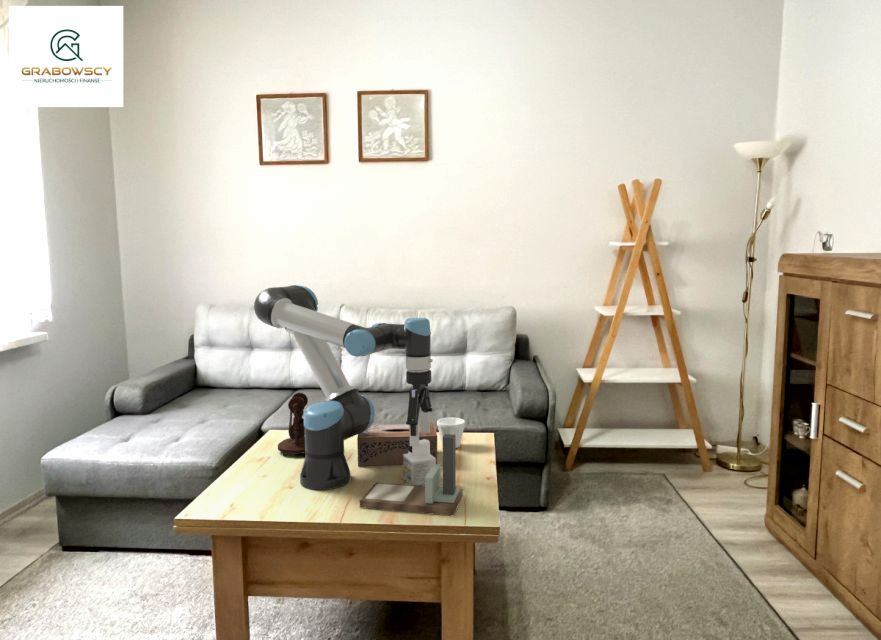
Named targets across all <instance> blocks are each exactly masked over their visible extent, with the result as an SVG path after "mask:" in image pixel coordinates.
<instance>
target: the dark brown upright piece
mask: <svg viewBox="0 0 881 640" xmlns="http://www.w3.org/2000/svg"><path fill="white" fill-rule="evenodd" d="M308 402H309V401H308V396H307V395H306V393H304V392H295V394H293V396H292V397H291V398H290V400H289V401H288V403H287V407H288V410H289V421H288V422H289V423H288V436H289V438H286V439H283V440H282V441H280V442H279V443H277V450H278V451H279V452H280V453H281V455H282V456H283V457H284V456H285V455H286V454H292V455H293V454H295V455H296V454H305V434H304V417H303V416H304V414H305V410H304V409H305V407H306V406H307V405H308Z"/></svg>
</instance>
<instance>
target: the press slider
mask: <svg viewBox="0 0 881 640" xmlns="http://www.w3.org/2000/svg"><path fill="white" fill-rule="evenodd" d="M456 449H457V448H456V435H451V434H445V435H444V436H443V446H442V464H438V463H437V464H434V465H433V467H432V468H431V470H430V471H429V473H428V474H427V476H426V477H425V484H424V486H425V503H431V504H432V503H433V502H434V501H435V502H447V503H454V501H455V499H456V497H457V495H458V493H459V488H460V487H456V485H457V483H456V480H457V478H456V477H457V475H456V463H457V461H456V459H457V458H456Z"/></svg>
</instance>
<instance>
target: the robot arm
mask: <svg viewBox="0 0 881 640" xmlns="http://www.w3.org/2000/svg"><path fill="white" fill-rule="evenodd" d="M318 305H319V301H318V298H317V295H316V294H315V292H314V291H313V290H312V289H310V288H309V287H307V286H304V285H296V284H295V285H293V284H292V285H289V286H287V285H286V286H277V287H268V288H265V289H263V290H262V291H260V293H258V295H256V297H255V299H254V304H253V309H254V313H255V316H256V318H258V319H259V321H260V322H261V323H263V324H266V325H268V326H270V327H273V328H276V329H283V328H284V329H285V332H287V333H289V334H292V335H293V337H294V339H295V341H296V342H297V345H298V346H299V348H300V351H301V353H302V354H303V356H304V359H305V361H307V365H308V366H309V369H310V370H311V372H312V374H313V376H314V378H315V380H316V381H317V383H318V386H319V387H320V389H321V391H322V393H323V395H324V397H325V400H323V401H321V402H320V401H318V402H315V403H313V404H311V405H309V406H308V407H307V408H306V409H305V410H304V414H303V416H304V417H303V419H304V434H305V453H304V455H305V457H304V460H303V464H302V467H301V471H300V475H299V481H300V482H299V483H300V485H301V486H303V487H304V488H307V489H310V488H311V489H310V490H331V488H332V489H337V488H340V487H342V486H345V485H347V484H348V483H350V481H351V470H350V467H349V464H348V462H347V461H348V460H347V458H346V456H345V441H347V440H348V439H350V438H353V437H354V436H358V434H361V433H362V432H364V431H365V430H367V429H368V428H370V427H371V425H374V421H375V418H376V417H375V416H376V410H375V405H374V403H373V401H372V400H371V399H370V398H369V397H367V396H365V395H362V394H360V392H359V391H358V390H359V389H358V388H357V387H355V386H352V385H350V383H349V381H348V379H347V377H346V376H345V374H344V371H343V370H342V368H341V366H340V363H339V362H338V360H337V358H336V356H335V355H334V353H333V351H332V349H331V347H330V345H329V344H331V345H335V346H338V347H340V348H343V349H345V350H346V351H347V353H348V354H349V355H350V356H353V357H357V358H358V357H365V356H366V357H367V356H369V355H372V354H376V353H379V352H384V351H385V350H386V351H387V350H389V349H393V350H396V349H397V350H405V369H406V371H405V376H406V379H405V381H406V382H405V383H407V384H408V385H411V386H412V389H409V392H408V393H409V394H408V395H409V397H408V399H409V400H408V407H407V408H408V409H407V418H406V422H405V424H406V425H409V438H410V446H419V424H421V433H430V424H431V423H430V422H431V420H430V412H433V408H432V403H431V402H432V401H431V397H430V389H429V384H430V383H431V382H432V371H431V370H430V369H432V362H434V360H433V358H431V357H432V356H431V354H432V351H431V346H432V345H431V335H432V332H431V325H430V324H431V323H430V320H429V319H428V318H427V317H409V318H406V319H405V320H404V324H402V323H401V324H399V323H386V322H381V323H380V322H379V323H374V324H372V325H371V326H370V327H365V326H361V325H358V324H355V323H352V322H351V321H350V322H349V321H346V320H343V319H341V318H338V317H337V318H336V317H334V316H331V315H329V314H325V313H322V312H319V310H318V308H319V307H318ZM420 411H421V412H420ZM419 416H420V423H419ZM336 487H337V488H336Z"/></svg>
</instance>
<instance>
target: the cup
mask: <svg viewBox="0 0 881 640" xmlns="http://www.w3.org/2000/svg"><path fill="white" fill-rule="evenodd" d="M436 425H437V429H438V432H439V438H440V441H441V445H442V447H443V436H444V435H445V434H451V435H456V449H459V448H458V447H461V443H462V438H463V434H464V430H465V426H466V421H465V419H463V418H459V417H442V418H439V419H437V420H436Z"/></svg>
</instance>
